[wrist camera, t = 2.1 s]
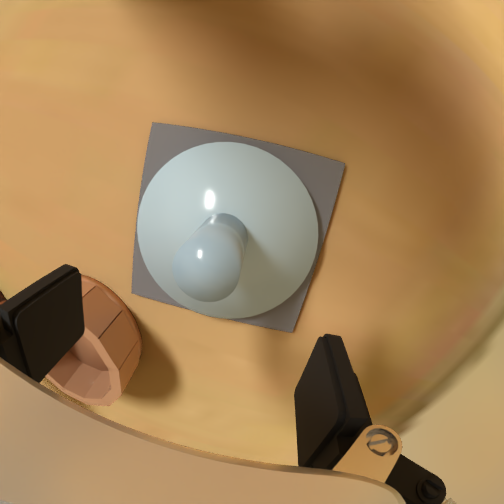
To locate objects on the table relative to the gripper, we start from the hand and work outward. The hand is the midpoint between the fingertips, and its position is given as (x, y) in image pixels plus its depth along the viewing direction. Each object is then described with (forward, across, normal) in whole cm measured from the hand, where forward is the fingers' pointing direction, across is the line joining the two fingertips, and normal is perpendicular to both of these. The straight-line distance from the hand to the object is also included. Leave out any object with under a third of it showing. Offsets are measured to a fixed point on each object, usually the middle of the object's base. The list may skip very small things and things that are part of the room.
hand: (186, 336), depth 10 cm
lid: (+12, 0, -1) cm, 12 cm away
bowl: (+12, +12, +12) cm, 21 cm away
